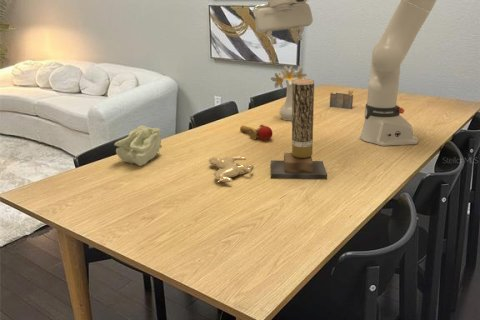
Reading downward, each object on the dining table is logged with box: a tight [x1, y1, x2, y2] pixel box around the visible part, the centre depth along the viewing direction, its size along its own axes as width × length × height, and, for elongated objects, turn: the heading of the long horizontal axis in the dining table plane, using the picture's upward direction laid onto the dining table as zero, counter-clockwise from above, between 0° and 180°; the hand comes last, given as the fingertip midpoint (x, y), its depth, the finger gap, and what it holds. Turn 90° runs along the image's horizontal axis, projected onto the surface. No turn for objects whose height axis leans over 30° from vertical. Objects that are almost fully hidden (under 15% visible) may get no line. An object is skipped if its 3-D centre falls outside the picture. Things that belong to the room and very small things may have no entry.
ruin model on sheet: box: [329, 90, 354, 110], centre depth 218 cm, size 11×3×10 cm, turn 61°
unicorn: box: [208, 156, 255, 183], centre depth 138 cm, size 20×4×17 cm
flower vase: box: [270, 65, 308, 121], centre depth 194 cm, size 13×18×25 cm
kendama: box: [239, 124, 273, 142], centre depth 174 cm, size 8×6×18 cm
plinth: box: [270, 152, 328, 180], centre depth 139 cm, size 18×12×5 cm, turn 86°
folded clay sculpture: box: [113, 124, 163, 167], centre depth 149 cm, size 18×13×16 cm
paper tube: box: [291, 78, 315, 158], centre depth 135 cm, size 7×7×25 cm
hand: (287, 42), depth 146 cm, fingers open, 8 cm apart
